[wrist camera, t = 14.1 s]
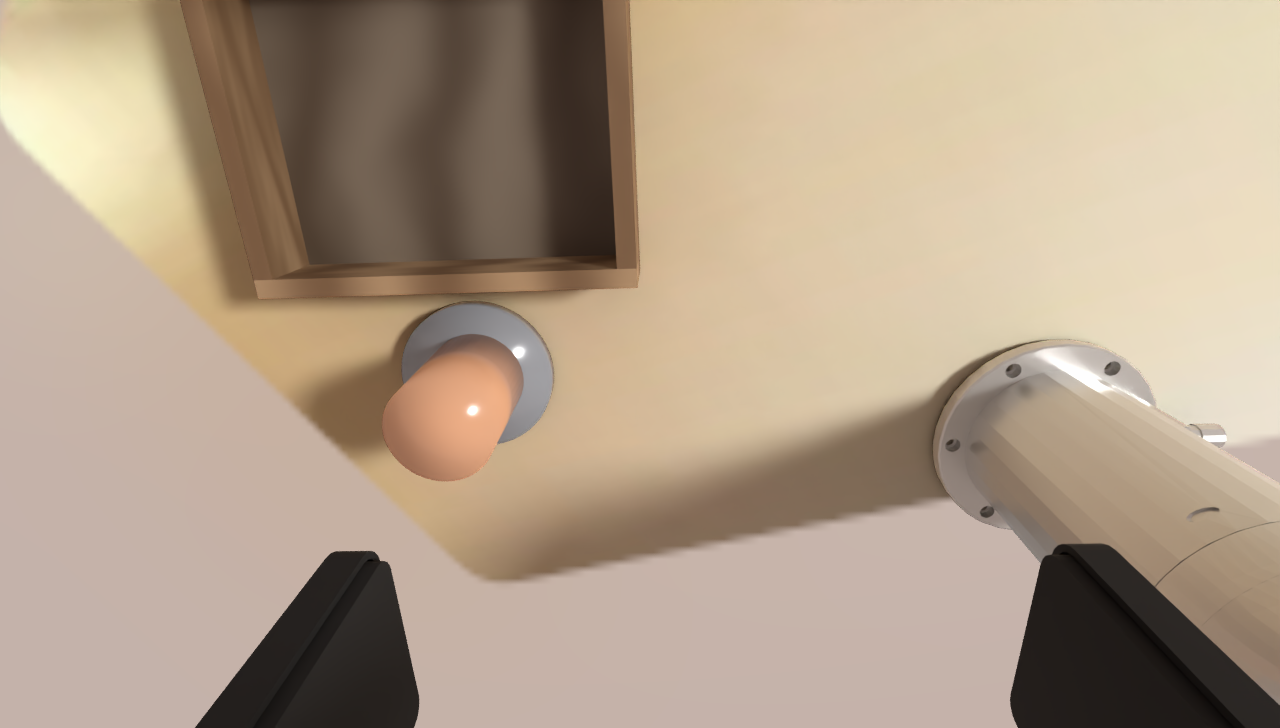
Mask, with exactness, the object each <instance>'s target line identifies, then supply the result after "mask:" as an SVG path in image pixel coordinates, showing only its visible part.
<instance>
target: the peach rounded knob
mask: <svg viewBox="0 0 1280 728" xmlns="http://www.w3.org/2000/svg"><path fill="white" fill-rule="evenodd" d="M523 386H524V377H523V372H522V369H521V366H520V364H519V362H518V360H517V358H516V357H515V355H514V354H513V353H512V352H511V350H510V349H508V348H507V347H506V346H505V345H504V344H502V343H501V342H499V341H497V340H496V339H493V338H491V337H488V336H485V335H479V334H465V335H460V336H457V337H454V338H452V339H450V340H448V341H447V342H446V343H444V344H443V345H442V346H441V347H440V348H439V349H438V350H437V351H436V352H435V353H434V354H433V355H432V356H431V357H430V358H429V359H428V360H427V361H426V362H425V363H424V364H423V365H422V366H421V367H420V368H419V370H418V371H417V372H416V373H415V374H414V375H413V376H412V377H411V378H410V379H409V380H408V381H407V382H406V383H405V384H404V385H403V386H402V387H401V388H400V389H399V390H398V391H397V392H396V393H395V394H394V395H393V396H392V397H391V399H390V400H389V401H388V403H387V405H386V407H385V410H384V413H383V418H382V431H383V436H384V439H385V442H386V444H387V446H388V448H389V450H390V452H391V453H392V454H393V456H394V457H395V458H396V459H397V460H398V461H399V462H400V463H401V464H402V465H403V466H404V467H405V468H407V469H408V470H410V471H411V472H413V473H415V474H417V475H419V476H421V477H424V478H427V479H431V480H436V481H455V480H461V479H464V478H467V477H469V476H471V475H473V474H474V473H476V472H477V471H479V470H480V469H481V468H482V467H483V466H484V465H485V464H486V462H487V461H488V459H489V458H490V456H491V454H492V452H493V450H494V448H495V446H496V444H497V442H498V440H499V438H500V437H501V435H502V433H503V431H504V429H505V427H506V425H507V423H508V421H509V419H510V417H511V415H512V413H513V411H514V409H515V407H516V405H517V403H518V401H519V399H520V397H521V395H522V391H523Z"/></svg>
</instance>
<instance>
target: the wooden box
mask: <svg viewBox="0 0 1280 728" xmlns="http://www.w3.org/2000/svg"><path fill="white" fill-rule="evenodd" d="M180 3H181V7H182V10H183V14H184V18H185V22H186V26H187V29H188V33H189V37H190V41H191V45H192V48H193V52H194V56H195V60H196V64H197V67H198V71H199V75H200V79H201V83H202V86H203V90H204V94H205V98H206V102H207V105H208V109H209V113H210V117H211V121H212V124H213V128H214V132H215V136H216V140H217V143H218V147H219V151H220V155H221V158H222V162H223V166H224V170H225V174H226V177H227V181H228V185H229V189H230V193H231V196H232V200H233V204H234V208H235V212H236V215H237V219H238V223H239V227H240V231H241V234H242V238H243V242H244V246H245V250H246V253H247V257H248V261H249V265H250V269H251V272H252V276H253V280H254V284H255V288H256V291H257V295H258V299H276V298H310V297H344V296H377V295H411V294H445V293H479V292H512V291H546V290H580V289H614V288H637V287H638V281H639V274H640V256H639V231H638V205H637V180H636V155H635V129H634V104H633V79H632V53H631V28H630V3H629V0H180Z"/></svg>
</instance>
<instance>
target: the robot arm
mask: <svg viewBox="0 0 1280 728" xmlns="http://www.w3.org/2000/svg"><path fill="white" fill-rule="evenodd" d="M1008 366H1009V367H1008ZM1225 442H1226V433H1225V430H1224V429H1223V428H1222V427H1221V426H1220V425H1218V424H1190V425H1185V424H1184V423H1182V422H1180V421H1178V420H1177V419H1175V418H1173V417H1172V416H1170V415H1168V414H1166V413H1165V412H1163V411H1161V410H1160V409H1158V408H1157V407H1156V400H1155V398H1154V395H1153V392H1152V390H1151V387H1150V385H1149V383H1148V382H1147V381H1146V379H1145V378H1144V376H1143V375H1142V374H1141V372H1140V371H1139V370H1138V369H1137V368H1136V367H1134V366H1133V365H1132V364H1131V363H1130V362H1128V361H1127V360H1126V359H1125V358H1123V357H1121V356H1119V355H1117V354H1115V353H1114V352H1112V351H1110V350H1108V349H1105V348H1103V347H1100V346H1097V345H1095V344H1092V343H1089V342H1082V341H1076V340H1070V339H1068V340H1046V341H1040V342H1035V343H1030V344H1026V345H1023V346H1020V347H1018V348H1015V349H1012V350H1009V351H1007V352H1005V353H1003V354H1001V355H999V356H997V357H995V358H994V359H992V360H990V361H988V362H986V363H985V364H984V365H982V366H981V367H980V368H979V369H977V370H976V371H975V372H974V373H972V374H971V375H970V376H969V377H968V378H967V379H966V380H965V381H964V382H963V383H962V384H961V385H960V386H959V387H958V388H957V389H956V390H955V392H954V393H953V395H952V396H951V398H950V399H949V401H948V402H947V404H946V405H945V407H944V409H943V411H942V413H941V416H940V418H939V421H938V423H937V425H936V430H935V435H934V440H933V460H934V464H935V468H936V472H937V476H938V478H939V479H940V481H941V483H942V485H943V487H944V489H945V490H946V491H947V493H948V494H949V495H950V496H951V498H952V499H953V500H954V502H955V503H956V504H957V505H958V506H959V507H960V508H962V509H963V510H964V511H965V512H966V513H967V514H969V515H970V516H972V517H974V518H975V519H977V520H979V521H981V522H983V523H986V524H989V525H992V526H995V527H998V528H1003V529H1010V530H1013V531H1014V533H1015V534H1016V535H1017V536H1018V537H1019V538H1020V540H1021V541H1022V542H1023V543H1024V544H1025V546H1026V547H1027V548H1028V549H1029V550H1030V551H1031V553H1032V554H1033V555H1034V556H1035V557H1036V558H1037V560H1038V561H1039V562H1040V563H1041V565H1040V569H1039V574H1038V578H1037V583H1036V587H1035V591H1034V595H1033V600H1032V605H1031V609H1030V613H1029V617H1028V622H1027V626H1026V630H1025V635H1024V639H1023V643H1022V648H1021V652H1020V656H1019V661H1018V665H1017V669H1016V674H1015V678H1014V683H1013V687H1012V691H1011V697H1010V702H1011V703H1010V704H1011V710H1012V714H1013V717H1014V720H1015V722H1016V725H1017V727H1018V728H1280V483H1278V482H1276V481H1275V480H1273V479H1271V478H1269V477H1268V476H1266V475H1264V474H1263V473H1261V472H1259V471H1258V470H1256V469H1254V468H1252V467H1251V466H1249V465H1247V464H1246V463H1244V462H1242V461H1240V460H1239V459H1237V458H1235V457H1234V456H1232V455H1230V454H1229V453H1227V452H1225V451H1224V450H1222V449H1220V447H1222V446H1223V445H1224V444H1225ZM418 710H419V694H418V690H417V685H416V681H415V677H414V672H413V667H412V663H411V658H410V654H409V649H408V644H407V640H406V635H405V631H404V627H403V622H402V617H401V613H400V609H399V604H398V599H397V595H396V590H395V586H394V581H393V577H392V573H391V568H390V565H389V564H388V563H387V562H385V561H380V560H379V557H378V555H377V554H376V553H375V552H372V551H340V552H338V551H336V552H333V553H331V554H330V555H329V556H328V557H327V558H326V559H325V560H324V562H323V563H322V564H321V565H320V567H319V568H318V569H317V570H316V572H315V573H314V574H313V576H312V577H311V578H310V579H309V581H308V582H307V583H306V585H305V586H304V587H303V588H302V590H301V591H300V592H299V594H298V595H297V596H296V598H295V599H294V600H293V602H292V603H291V604H290V605H289V607H288V608H287V609H286V611H285V612H284V613H283V614H282V616H281V617H280V618H279V620H278V621H277V622H276V623H275V625H274V626H273V627H272V629H271V630H270V631H269V633H268V634H267V635H266V636H265V638H264V639H263V640H262V642H261V643H260V644H259V645H258V647H257V648H256V649H255V651H254V652H253V653H252V655H251V656H250V657H249V658H248V660H247V661H246V662H245V664H244V665H243V666H242V668H241V669H240V670H239V671H238V673H237V674H236V675H235V677H234V678H233V679H232V680H231V682H230V683H229V684H228V686H227V687H226V688H225V690H224V691H223V692H222V693H221V695H220V696H219V697H218V699H217V700H216V701H215V702H214V704H213V705H212V706H211V708H210V709H209V710H208V712H207V713H206V714H205V715H204V717H203V718H202V719H201V721H200V722H199V723H198V724H197V726H196V727H195V728H414V726H415V723H416V720H417V716H418Z"/></svg>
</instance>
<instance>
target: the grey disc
mask: <svg viewBox="0 0 1280 728" xmlns="http://www.w3.org/2000/svg"><path fill="white" fill-rule="evenodd" d="M465 334H479V335H485V336H488V337H491V338H493V339H496V340H497V341H499V342H501V343H502V344H504V345H505V346H506V347H507V348H508V349H510V350H511V352H512V353H513V354H514V355H515V357H516V358H517V360H518V362H519V364H520V366H521V369H522V372H523V377H524V386H523V391H522V395H521V397H520V399H519V401H518V403H517V405H516V407H515V409H514V411H513V413H512V415H511V417H510V419H509V421H508V423H507V425H506V427H505V429H504V431H503V433H502V435H501V437H500V438H499V440H498V442H497V444H499V443H504V442H507V441H510V440H513V439H515V438H517V437H519V436H521V435H522V434H524V433H525V432H527V431H528V430H529V429H531V428H532V427H533V426H534V425H535V424H536V423H537V421H538V420H539V419H540V418H541V416H542V414H543V413H544V411H545V409H546V407H547V404H548V402H549V399H550V397H551V394H552V390H553V384H554V368H553V362H552V359H551V355H550V352H549V350H548V348H547V346H546V344H545V342H544V340H543V339H542V337H541V336H540V334H539V333H538V332H537V331H536V329H535V328H534V327H533V326H532V325H531V324H530V323H529V322H528V321H526V320H525V319H524V318H522V317H521V316H520V315H518V314H516V313H515V312H513V311H511V310H509V309H507V308H505V307H502V306H500V305H496V304H493V303H488V302H482V301H466V302H459V303H454V304H451V305H448V306H446V307H443V308H441V309H439V310H438V311H436V312H434V313H433V314H432V315H430V316H429V317H428V318H426V319H425V320H424V321H423V322H422V323H421V324H420V325H419V326H418V327H417V328H416V329H415V330H414V332H413V333H412V334H411V336H410V338H409V340H408V342H407V344H406V346H405V349H404V352H403V358H402V379H403V383H404V384H405V383H406V382H407V381H408V380H409V379H410V378H411V377H412V376H413V375H414V374H415V373H416V372H417V371H418V370H419V368H420V367H421V366H422V365H423V364H424V363H425V362H426V361H427V360H428V359H429V358H430V357H431V356H432V355H433V354H434V353H435V352H436V351H437V350H438V349H439V348H440V347H441V346H442V345H443V344H444V343H446V342H447V341H448V340H450V339H452V338H454V337H457V336H460V335H465Z"/></svg>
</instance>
